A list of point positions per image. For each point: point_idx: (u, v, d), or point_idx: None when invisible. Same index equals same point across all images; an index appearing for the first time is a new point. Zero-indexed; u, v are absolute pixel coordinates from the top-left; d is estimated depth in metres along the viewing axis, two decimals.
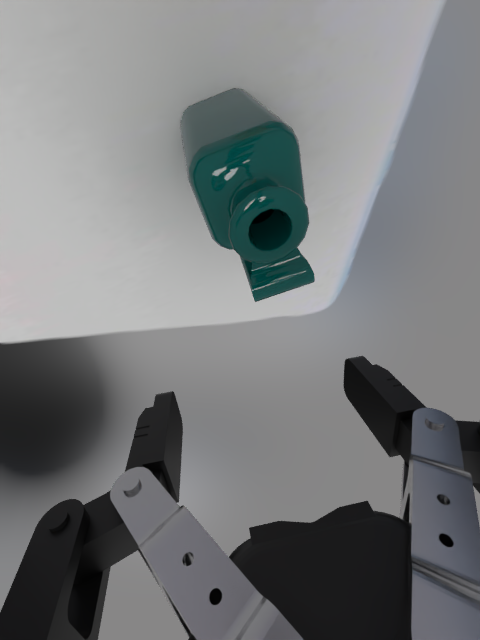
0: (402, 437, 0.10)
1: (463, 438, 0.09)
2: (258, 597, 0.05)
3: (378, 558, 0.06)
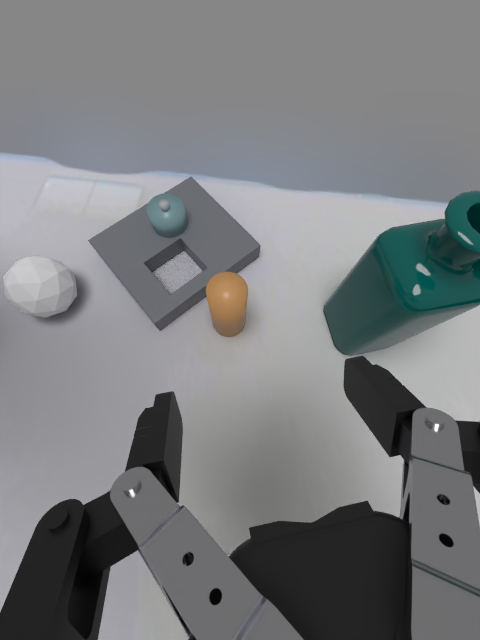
0: (402, 437, 0.10)
1: (463, 438, 0.09)
2: (258, 597, 0.05)
3: (378, 558, 0.06)
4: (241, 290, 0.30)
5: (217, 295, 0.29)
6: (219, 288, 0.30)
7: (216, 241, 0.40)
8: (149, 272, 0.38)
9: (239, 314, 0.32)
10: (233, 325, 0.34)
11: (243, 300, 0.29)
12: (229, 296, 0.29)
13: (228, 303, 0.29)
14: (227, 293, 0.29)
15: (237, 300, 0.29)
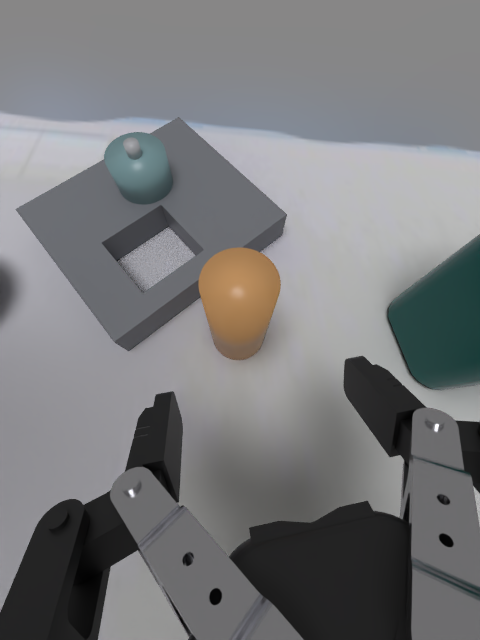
0: (402, 437, 0.10)
1: (463, 438, 0.09)
2: (258, 597, 0.05)
3: (378, 558, 0.06)
4: (267, 283, 0.15)
5: (221, 292, 0.15)
6: (225, 279, 0.15)
7: (217, 208, 0.25)
8: (110, 257, 0.24)
9: (261, 327, 0.17)
10: (249, 345, 0.20)
11: (272, 302, 0.15)
12: (245, 295, 0.15)
13: (242, 308, 0.15)
14: (240, 289, 0.15)
15: (260, 302, 0.15)
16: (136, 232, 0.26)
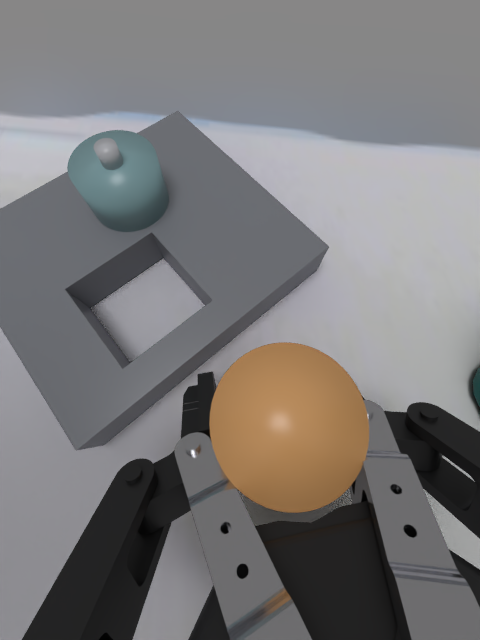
0: None
1: (391, 427, 0.10)
2: (281, 590, 0.05)
3: (378, 558, 0.06)
4: (343, 420, 0.08)
5: (255, 442, 0.08)
6: (261, 412, 0.08)
7: (231, 238, 0.18)
8: (76, 312, 0.16)
9: None
10: None
11: (356, 464, 0.07)
12: (301, 448, 0.08)
13: (299, 479, 0.07)
14: (290, 435, 0.08)
15: (333, 465, 0.07)
16: (117, 270, 0.19)
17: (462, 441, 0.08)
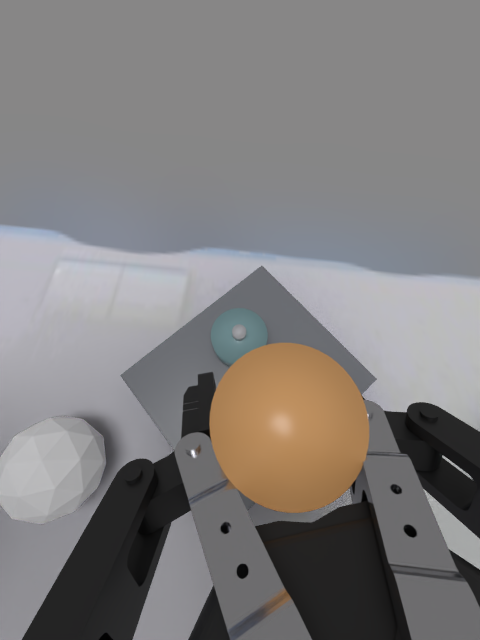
0: None
1: (391, 427, 0.10)
2: (281, 589, 0.05)
3: (378, 558, 0.06)
4: (343, 420, 0.08)
5: (255, 442, 0.08)
6: (261, 412, 0.08)
7: None
8: None
9: None
10: None
11: (357, 464, 0.07)
12: (301, 448, 0.08)
13: (299, 479, 0.07)
14: (290, 435, 0.08)
15: (333, 465, 0.07)
16: None
17: (462, 441, 0.08)
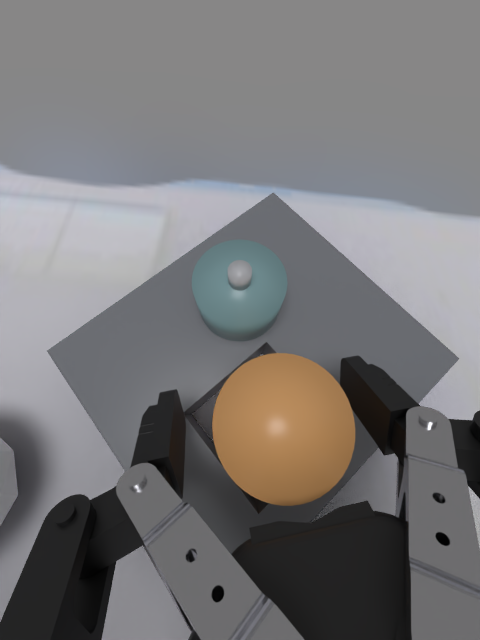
0: (396, 435, 0.10)
1: (456, 436, 0.09)
2: (260, 596, 0.05)
3: (378, 558, 0.06)
4: (332, 423, 0.09)
5: (253, 443, 0.09)
6: (259, 416, 0.09)
7: (353, 349, 0.17)
8: (199, 442, 0.15)
9: None
10: None
11: (344, 463, 0.08)
12: (295, 449, 0.08)
13: (292, 476, 0.08)
14: (285, 437, 0.09)
15: (323, 463, 0.08)
16: (226, 379, 0.17)
17: None
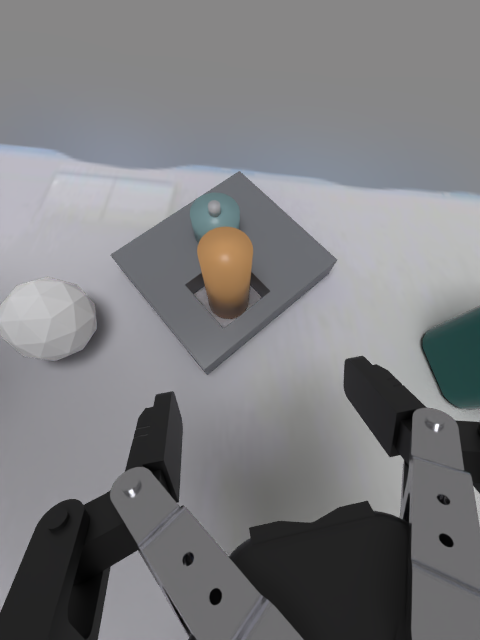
0: (402, 437, 0.10)
1: (463, 438, 0.09)
2: (258, 597, 0.05)
3: (378, 558, 0.06)
4: (244, 250, 0.22)
5: (212, 256, 0.22)
6: (215, 247, 0.22)
7: (279, 254, 0.30)
8: (193, 297, 0.28)
9: (241, 284, 0.24)
10: (234, 302, 0.27)
11: (247, 262, 0.22)
12: (228, 258, 0.22)
13: (227, 266, 0.22)
14: (225, 254, 0.22)
15: (239, 262, 0.22)
16: None
17: None
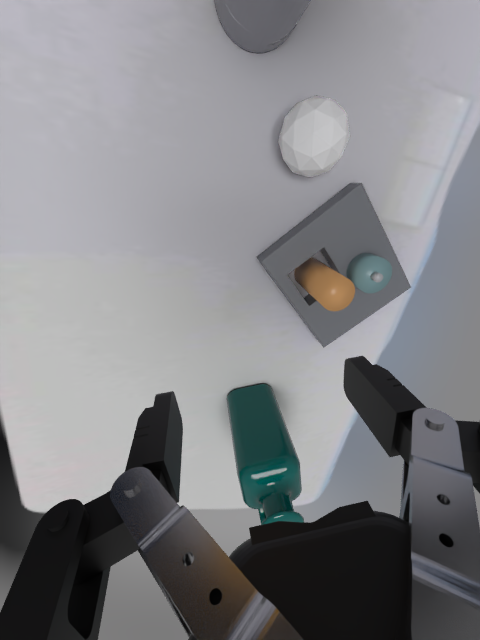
0: (402, 437, 0.10)
1: (463, 438, 0.09)
2: (258, 597, 0.05)
3: (378, 558, 0.06)
4: (335, 306, 0.35)
5: (334, 287, 0.34)
6: (340, 288, 0.34)
7: (334, 312, 0.43)
8: (312, 253, 0.39)
9: (314, 297, 0.37)
10: (304, 285, 0.39)
11: (326, 307, 0.35)
12: (331, 297, 0.34)
13: (326, 295, 0.34)
14: (334, 294, 0.34)
15: (327, 303, 0.35)
16: (330, 262, 0.41)
17: None
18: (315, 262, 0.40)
